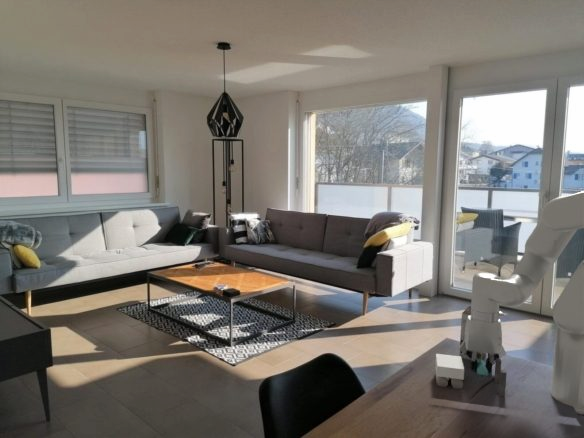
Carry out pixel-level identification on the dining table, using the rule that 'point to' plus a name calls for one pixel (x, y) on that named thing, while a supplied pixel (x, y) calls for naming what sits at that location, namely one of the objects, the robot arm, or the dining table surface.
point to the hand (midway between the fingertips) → (481, 372)
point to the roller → (481, 368)
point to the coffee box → (463, 325)
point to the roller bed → (499, 378)
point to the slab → (449, 366)
